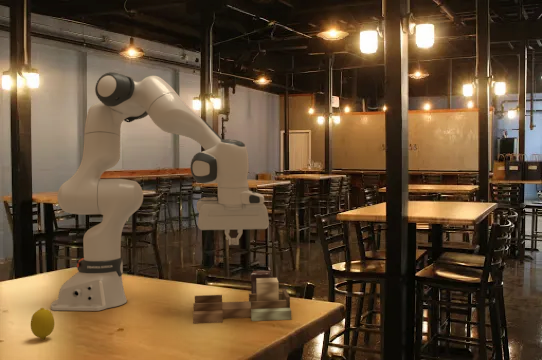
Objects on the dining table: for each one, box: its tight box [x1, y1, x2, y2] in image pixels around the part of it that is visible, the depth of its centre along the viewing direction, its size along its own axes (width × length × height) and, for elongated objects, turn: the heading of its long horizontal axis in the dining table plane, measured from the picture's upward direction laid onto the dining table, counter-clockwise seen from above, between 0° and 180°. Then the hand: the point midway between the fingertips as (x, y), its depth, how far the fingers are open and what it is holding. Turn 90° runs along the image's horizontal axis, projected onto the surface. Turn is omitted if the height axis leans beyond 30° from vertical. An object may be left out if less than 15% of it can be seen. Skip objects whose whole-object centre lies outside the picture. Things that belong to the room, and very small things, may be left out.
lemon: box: [30, 307, 55, 340], centre depth 143 cm, size 6×6×8 cm
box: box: [250, 270, 272, 294], centre depth 188 cm, size 6×6×7 cm
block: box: [256, 277, 280, 301], centre depth 165 cm, size 6×6×7 cm
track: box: [192, 288, 292, 324], centre depth 165 cm, size 27×16×6 cm, turn 95°
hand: (233, 244), depth 164 cm, fingers closed
